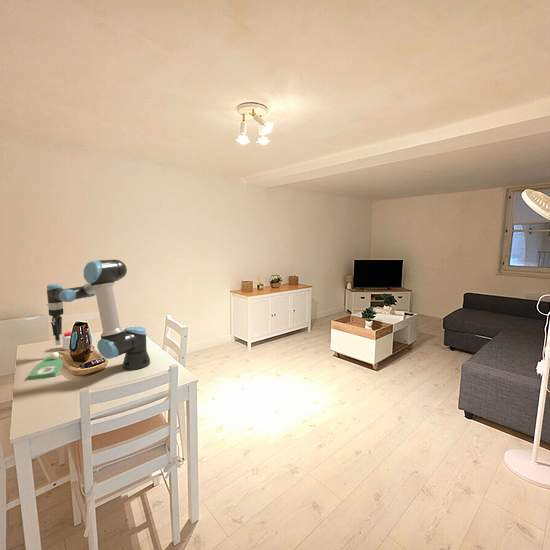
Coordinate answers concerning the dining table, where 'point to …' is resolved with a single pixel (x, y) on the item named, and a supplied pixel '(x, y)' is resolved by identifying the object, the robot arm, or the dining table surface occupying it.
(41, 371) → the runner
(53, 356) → the ball
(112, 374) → the dining table surface
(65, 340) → the pill bottle
